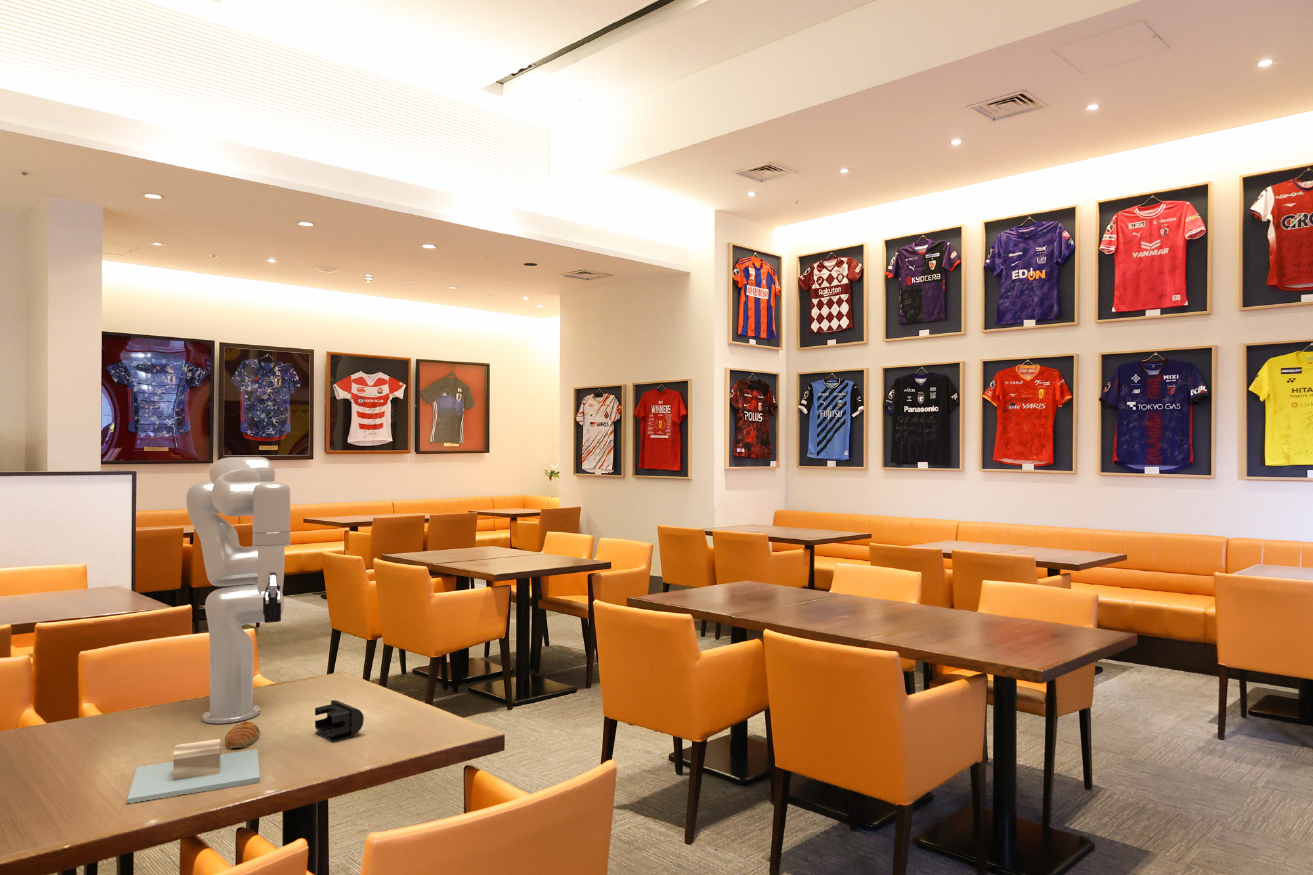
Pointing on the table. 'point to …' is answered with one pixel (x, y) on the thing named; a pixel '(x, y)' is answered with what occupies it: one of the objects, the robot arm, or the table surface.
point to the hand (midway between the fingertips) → (271, 618)
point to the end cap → (338, 721)
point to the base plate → (160, 777)
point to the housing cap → (196, 759)
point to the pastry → (242, 735)
